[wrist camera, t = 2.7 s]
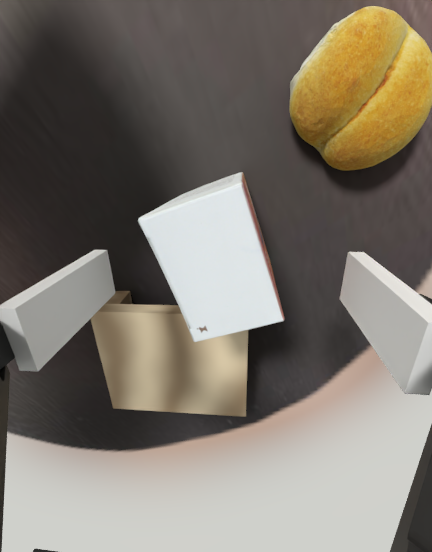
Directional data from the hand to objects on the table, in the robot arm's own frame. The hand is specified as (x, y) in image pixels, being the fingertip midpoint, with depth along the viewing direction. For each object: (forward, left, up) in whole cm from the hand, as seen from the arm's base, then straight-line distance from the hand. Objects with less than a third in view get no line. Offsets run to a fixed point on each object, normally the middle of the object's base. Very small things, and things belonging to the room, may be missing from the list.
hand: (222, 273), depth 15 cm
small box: (0, 0, -10) cm, 10 cm away
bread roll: (+9, +9, -10) cm, 16 cm away
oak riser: (-5, -12, -10) cm, 16 cm away
